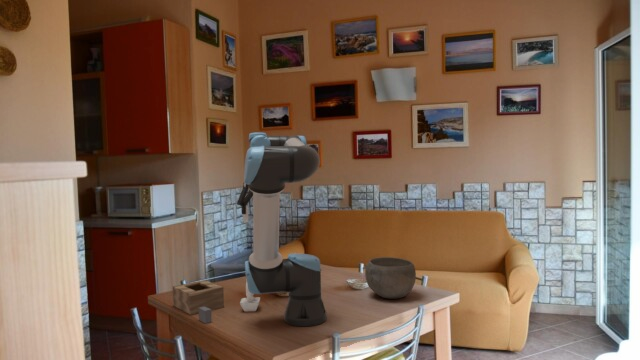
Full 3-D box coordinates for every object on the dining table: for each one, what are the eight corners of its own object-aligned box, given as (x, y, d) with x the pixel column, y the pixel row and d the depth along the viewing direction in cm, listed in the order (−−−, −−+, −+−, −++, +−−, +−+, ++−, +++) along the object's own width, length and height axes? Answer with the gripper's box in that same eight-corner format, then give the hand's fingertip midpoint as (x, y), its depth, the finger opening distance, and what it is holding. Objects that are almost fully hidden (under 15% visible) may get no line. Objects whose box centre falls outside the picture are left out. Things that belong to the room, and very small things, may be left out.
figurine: (239, 313, 171) (238, 274, 171) (242, 306, 181) (241, 268, 181) (259, 313, 172) (258, 273, 172) (260, 305, 181) (259, 268, 181)
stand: (211, 321, 163) (211, 309, 163) (205, 323, 161) (204, 310, 161) (205, 318, 167) (204, 306, 167) (198, 320, 165) (198, 307, 165)
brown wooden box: (223, 307, 180) (223, 287, 180) (190, 315, 171) (189, 294, 171) (205, 299, 192) (204, 280, 192) (173, 306, 183) (172, 286, 183)
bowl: (426, 299, 185) (425, 262, 184) (381, 306, 177) (380, 268, 177) (398, 287, 204) (398, 254, 204) (357, 293, 196) (356, 258, 196)
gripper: (277, 169, 201) (278, 217, 202) (227, 170, 185) (229, 222, 186) (288, 169, 196) (289, 218, 196) (237, 170, 179) (238, 224, 180)
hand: (259, 220), depth 191 cm, fingers open, 13 cm apart
